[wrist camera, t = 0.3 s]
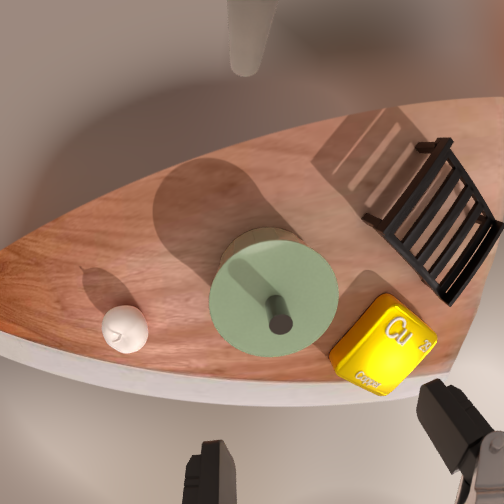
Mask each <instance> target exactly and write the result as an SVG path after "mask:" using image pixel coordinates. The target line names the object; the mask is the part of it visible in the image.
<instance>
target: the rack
mask: <svg viewBox="0 0 504 504" xmlns="http://www.w3.org/2000/svg"><path fill="white" fill-rule="evenodd" d="M453 142H454V141H453V140H452V139H451V138H437V140H436V141H435V142H419V143H418V144H417V145H416V147H415V148H416V150H417V151H418V152H419V153H430V154H431V155H430V156H429V158H428V159H427V161H426V162H425V163H424V165H423V166H422V168H421V169H420V171H419V172H418V173H417V175H416V176H415V178H414V179H413V180H412V182H411V183H410V184H409V186H408V187H407V189H406V190H405V191H404V193H403V194H402V195H401V197H400V198H399V199H398V201H397V202H396V203H395V205H394V206H393V207H392V209H391V210H390V211H389V213H388V214H387V215H386V216H385V218H384V219H383V220H382V219H379V218H377V217H375V216H373V215H370V214H368V213H365V215H364V216H363V217H362V218H361V219H362V220H363V221H364V222H365V223H366V224H367V225H369V226H371V227H373V228H374V229H375V230H376V231H377V232H378V233H379V234H380V235H381V236H382V237H383V238H384V239H385V240H386V241H387V242H388V243H389V244H390V245H391V246H392V247H393V248H394V249H395V250H396V251H397V252H398V253H399V255H400V256H401V257H402V258H403V259H404V260H405V261H406V262H407V263H408V264H409V265H410V266H411V267H412V268H413V269H414V270H415V272H416V273H417V274H418V275H419V276H420V277H421V278H422V282H423V283H424V284H426V285H427V286H428V287H430V288H431V289H432V290H433V292H434V293H435V294H436V295H437V296H438V297H439V298H440V299H441V300H442V301H443V302H444V303H446V304H447V305H448V306H449V307H451V306H452V305H453V303H454V302H455V301H456V299H457V298H458V297H459V296H460V294H461V293H462V292H463V290H464V289H465V287H466V286H467V285H468V283H469V282H470V281H471V279H472V278H473V276H474V275H475V273H476V272H477V270H478V269H479V268H480V266H481V265H482V263H483V262H484V260H485V258H486V257H487V255H488V254H489V252H490V251H491V249H492V247H493V246H494V244H495V243H496V241H497V239H498V238H499V236H500V234H501V232H502V231H503V229H504V223H503V222H500V221H497V220H495V218H494V216H493V215H492V213H491V211H490V209H489V207H488V206H487V204H486V202H485V201H484V199H483V197H482V196H481V194H480V192H479V191H478V189H477V187H476V186H475V184H474V183H473V181H472V180H471V178H470V177H469V175H468V173H467V172H466V171H465V169H464V168H463V166H462V165H461V163H460V162H459V160H458V159H457V158H456V156H455V155H454V153H453V152H452V151H451V149H450V147H451V145H452V144H453ZM446 160H447V161H448V163H449V164H450V165H451V167H452V170H451V171H450V173H449V174H448V176H447V177H446V179H445V180H444V182H443V183H442V185H441V186H440V188H439V189H438V191H437V192H436V194H435V195H434V197H433V198H432V199H431V201H430V202H429V204H428V205H427V207H426V208H425V209H424V211H423V212H422V213H421V215H420V216H419V218H418V219H417V220H416V222H415V223H414V224H413V226H412V227H411V228H410V230H409V231H408V232H407V234H406V235H405V236H404V238H403V239H402V240H401V241H400V240H399V239H398V238H397V237H396V236H395V235H394V233H395V232H396V230H397V229H398V228H399V226H400V225H401V224H402V222H403V221H404V220H405V218H406V217H407V216H408V214H409V213H410V212H411V210H412V209H413V208H414V206H415V205H416V204H417V202H418V201H419V199H420V198H421V197H422V195H423V194H424V192H425V191H426V190H427V188H428V187H429V185H430V184H431V182H432V181H433V179H434V178H435V177H436V175H437V174H438V172H439V171H440V169H441V168H442V166H443V165H444V163H445V162H446ZM459 179H461V181H462V182H463V184H464V185H465V186H464V188H463V189H462V191H461V192H460V194H459V196H458V197H457V199H456V200H455V202H454V203H453V205H452V206H451V208H450V209H449V211H448V212H447V214H446V215H445V217H444V218H443V220H442V221H441V222H440V224H439V225H438V227H437V228H436V230H435V231H434V232H433V234H432V235H431V236H430V238H429V239H428V241H427V242H426V243H425V245H424V246H423V247H422V249H421V250H420V251H419V253H418V254H417V255H416V256H415V257H414V255H413V254H412V253H411V252H410V251H409V250H410V249H411V248H412V246H413V245H414V244H415V243H416V241H417V240H418V239H419V237H420V236H421V234H422V233H423V232H424V230H425V229H426V228H427V226H428V225H429V224H430V222H431V221H432V219H433V218H434V216H435V215H436V214H437V212H438V211H439V209H440V208H441V206H442V205H443V203H444V202H445V201H446V199H447V198H448V196H449V195H450V193H451V191H452V190H453V188H454V187H455V185H456V184H457V182H458V181H459ZM471 196H472V198H473V199H474V201H475V204H474V205H473V207H472V209H471V210H470V212H469V213H468V215H467V217H466V218H465V220H464V221H463V223H462V224H461V226H460V227H459V229H458V230H457V232H456V233H455V235H454V236H453V238H452V239H451V240H450V242H449V243H448V245H447V246H446V247H445V249H444V250H443V252H442V253H441V254H440V256H439V257H438V258H437V260H436V261H435V263H434V264H433V265H432V266H431V268H430V269H429V270H428V271H427V270H426V269H425V268H424V267H423V265H424V264H425V263H426V261H427V260H428V259H429V257H430V256H431V255H432V253H433V252H434V251H435V249H436V248H437V247H438V245H439V244H440V242H441V241H442V240H443V238H444V237H445V235H446V234H447V232H448V231H449V230H450V228H451V227H452V225H453V224H454V222H455V221H456V219H457V218H458V216H459V215H460V213H461V212H462V210H463V209H464V207H465V205H466V204H467V202H468V201H469V199H470V197H471ZM481 212H482V214H483V215H484V216H483V215H480V214H481ZM474 223H478V224H481V225H480V226H479V228H478V229H477V231H476V233H475V234H474V236H473V237H472V239H471V240H470V242H469V243H468V245H467V246H466V248H465V249H464V251H463V252H462V254H461V255H460V256H459V258H458V259H457V261H456V262H455V263H454V265H453V266H452V268H451V269H450V270H449V272H448V273H447V274H446V276H445V277H444V278H443V280H442V281H441V282H440V284H438V283H437V282H436V281H435V279H436V278H437V276H438V275H439V274H440V272H441V271H442V270H443V268H444V267H445V266H446V264H447V263H448V262H449V260H450V259H451V258H452V256H453V255H454V253H455V252H456V250H457V249H458V248H459V246H460V245H461V243H462V242H463V240H464V239H465V237H466V236H467V234H468V233H469V231H470V230H471V228H472V227H473V225H474ZM490 227H491V229H490V230H489V228H490ZM488 230H489V232H488ZM487 232H488V234H487V235H486V233H487ZM485 235H486V237H485V239H484V240H483V238H484V236H485ZM482 240H483V242H482V243H481V241H482ZM480 243H481V245H480V246H479V244H480ZM478 246H479V248H478V249H477V247H478ZM476 249H477V251H476V252H475V250H476ZM474 252H475V254H474V255H473V253H474ZM472 255H473V257H472V258H471V256H472ZM470 258H471V260H470V261H469V259H470ZM468 261H469V263H468V264H467V262H468ZM466 264H467V266H466V267H465V265H466ZM464 267H465V269H464V270H463V271H462V269H463V268H464ZM461 271H462V273H461V274H460V272H461ZM459 274H460V276H459V277H458V278H457V276H458V275H459ZM456 278H457V280H456V281H455V282H454V280H455V279H456ZM453 282H454V284H453V285H452V286H451V284H452V283H453ZM450 286H451V288H450V289H449V290H448V288H449V287H450ZM447 290H448V292H447V293H445V292H446V291H447Z"/></svg>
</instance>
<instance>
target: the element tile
mask: <svg viewBox="0 0 504 504" xmlns="http://www.w3.org/2000/svg"><path fill="white" fill-rule="evenodd" d="M436 342H437V335H436V333H435V332H434V331H433V330H432V329H431V328H430V327H429V326H428V325H427V324H426V323H425V322H423V321H422V320H421V319H420V318H419V317H418V316H417V315H415V314H414V313H413V312H412V311H411V310H410V309H408V308H407V307H406V306H405V305H404V304H402V303H401V302H400V301H399V300H398V299H397V298H395V297H394V296H393V295H391V294H387V293H385V294H382V295H380V296H379V297H378V298H376V300H375V301H374V302H373V303H372V304H371V306H370V307H369V308H368V309H367V310H366V312H365V313H364V314H363V315H362V316H361V317H360V319H359V320H358V321H357V322H356V323H355V324H354V326H353V327H352V328H351V329H350V330H349V331H348V332H347V333H346V335H345V336H344V337H343V338H342V339H341V340H340V341H339V342H338V343H337V344H336V345H335V347H334V348H333V349H332V350H331V352H330V354H329V359H330V362H331V364H332V366H333V368H334V371H335V373H336V374H337V375H338V376H339V377H341V378H343V379H345V380H347V381H349V382H351V383H353V384H355V385H357V386H359V387H361V388H363V389H365V390H367V391H369V392H372V393H374V394H376V395H378V396H386V395H388V394H389V393H390V392H392V391H393V390H394V389H395V388H396V387H397V386H398V385H399V384H400V383H401V382H402V381H403V380H404V379H405V378H406V377H407V376H408V375H409V374H410V373H411V372H412V371H413V370H414V368H415V367H416V366H417V365H418V364H419V363H420V362H421V361H422V360H423V359H424V358H425V356H426V355H427V354H428V353H429V352H430V351H431V350H432V348H433V347H434V346H435V344H436Z"/></svg>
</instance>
